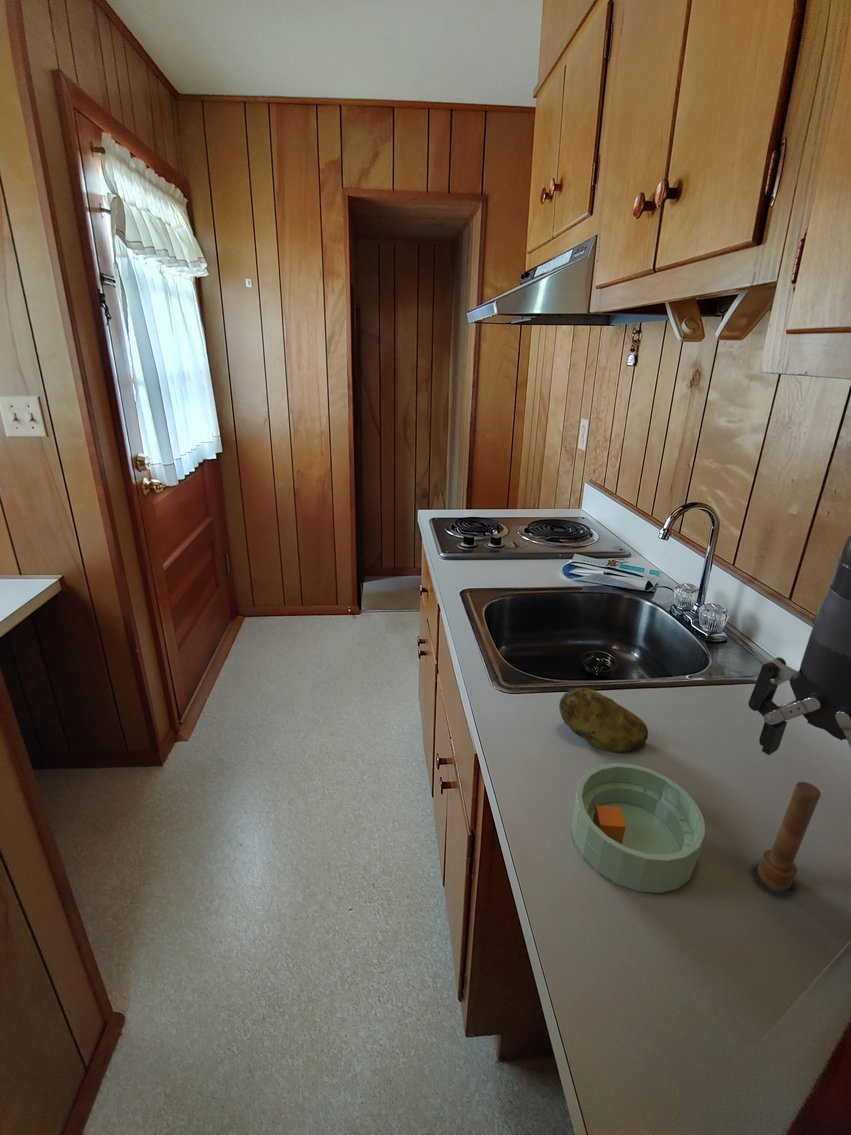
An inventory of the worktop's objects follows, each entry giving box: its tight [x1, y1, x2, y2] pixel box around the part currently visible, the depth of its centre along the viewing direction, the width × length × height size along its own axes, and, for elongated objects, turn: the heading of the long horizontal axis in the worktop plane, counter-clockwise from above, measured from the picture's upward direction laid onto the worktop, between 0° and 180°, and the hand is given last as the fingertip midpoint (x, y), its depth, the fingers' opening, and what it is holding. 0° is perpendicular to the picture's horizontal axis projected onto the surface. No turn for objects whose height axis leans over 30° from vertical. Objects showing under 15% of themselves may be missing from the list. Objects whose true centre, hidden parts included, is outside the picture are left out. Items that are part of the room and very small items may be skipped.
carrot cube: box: [593, 805, 626, 845], centre depth 68 cm, size 3×3×3 cm
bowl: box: [570, 762, 706, 894], centre depth 67 cm, size 14×14×6 cm
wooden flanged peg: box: [757, 781, 822, 891], centre depth 61 cm, size 3×3×14 cm
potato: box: [558, 687, 649, 753], centre depth 84 cm, size 8×13×8 cm, turn 56°
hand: (811, 775), depth 57 cm, fingers open, 8 cm apart
